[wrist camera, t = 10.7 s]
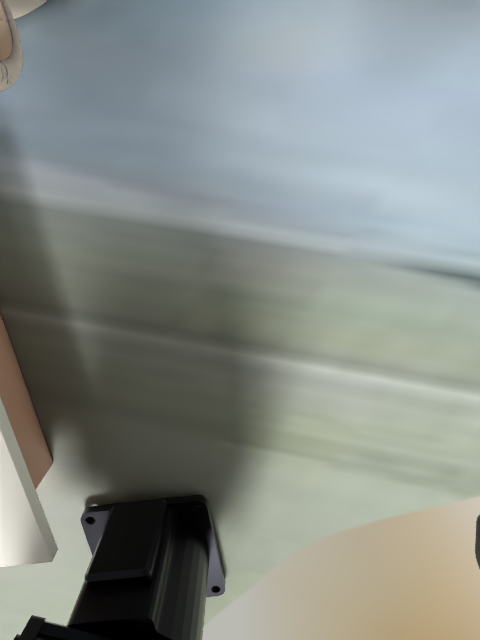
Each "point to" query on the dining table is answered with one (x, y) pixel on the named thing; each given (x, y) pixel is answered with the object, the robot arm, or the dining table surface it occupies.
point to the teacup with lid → (12, 39)
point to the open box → (22, 412)
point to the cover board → (20, 507)
